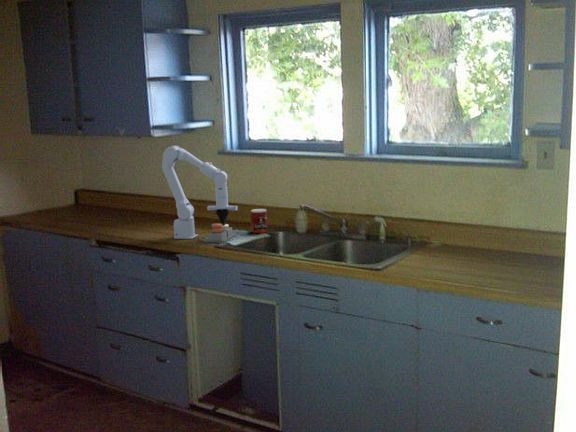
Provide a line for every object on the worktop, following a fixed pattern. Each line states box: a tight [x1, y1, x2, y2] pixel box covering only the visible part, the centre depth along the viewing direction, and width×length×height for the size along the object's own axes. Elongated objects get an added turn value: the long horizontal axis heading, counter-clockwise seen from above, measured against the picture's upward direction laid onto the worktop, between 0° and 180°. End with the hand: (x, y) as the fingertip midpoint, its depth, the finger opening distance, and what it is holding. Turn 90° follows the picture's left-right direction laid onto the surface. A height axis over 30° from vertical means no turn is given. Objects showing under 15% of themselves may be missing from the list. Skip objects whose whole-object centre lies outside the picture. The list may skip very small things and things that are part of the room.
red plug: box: [211, 222, 222, 234], centre depth 311 cm, size 5×5×4 cm
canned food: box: [250, 208, 268, 234], centre depth 326 cm, size 8×8×11 cm
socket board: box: [204, 226, 237, 243], centre depth 316 cm, size 10×16×4 cm, turn 166°
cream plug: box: [221, 223, 230, 230], centre depth 320 cm, size 5×5×4 cm
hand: (223, 225), depth 320 cm, fingers closed, pressing on cream plug
